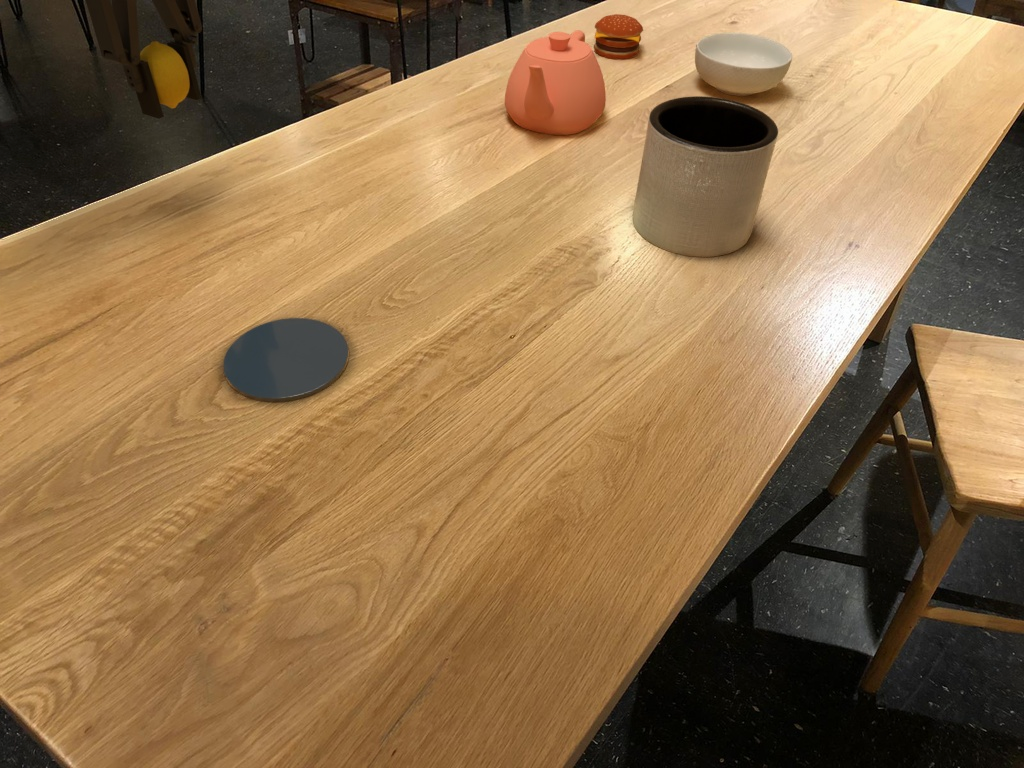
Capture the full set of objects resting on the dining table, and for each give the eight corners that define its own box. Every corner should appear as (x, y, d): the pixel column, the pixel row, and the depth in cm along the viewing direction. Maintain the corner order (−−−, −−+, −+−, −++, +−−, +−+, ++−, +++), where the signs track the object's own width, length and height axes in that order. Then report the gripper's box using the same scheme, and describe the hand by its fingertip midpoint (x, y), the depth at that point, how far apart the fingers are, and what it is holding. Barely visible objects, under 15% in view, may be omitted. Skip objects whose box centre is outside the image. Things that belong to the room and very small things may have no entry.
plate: (199, 380, 80) (195, 370, 79) (282, 315, 89) (280, 304, 88) (296, 425, 76) (293, 415, 75) (374, 352, 84) (372, 341, 83)
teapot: (576, 159, 119) (584, 72, 110) (477, 139, 123) (477, 54, 114) (619, 99, 136) (629, 20, 127) (531, 83, 140) (535, 5, 131)
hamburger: (594, 41, 157) (597, 7, 153) (640, 45, 156) (645, 11, 152) (590, 58, 150) (593, 22, 146) (639, 62, 149) (644, 26, 145)
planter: (769, 257, 100) (803, 146, 90) (653, 269, 98) (674, 155, 87) (721, 196, 112) (746, 91, 101) (616, 205, 109) (631, 98, 98)
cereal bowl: (673, 89, 140) (680, 49, 135) (713, 63, 150) (721, 25, 145) (759, 115, 133) (770, 74, 128) (796, 86, 143) (807, 47, 138)
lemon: (140, 113, 93) (118, 46, 88) (167, 96, 97) (148, 30, 92) (179, 120, 92) (160, 52, 87) (205, 102, 96) (188, 36, 91)
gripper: (58, -93, 71) (135, 142, 87) (203, -125, 84) (247, 86, 99) (4, -103, 74) (89, 127, 90) (152, -133, 86) (204, 74, 102)
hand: (172, 105), depth 95 cm, fingers closed on lemon, 5 cm apart
